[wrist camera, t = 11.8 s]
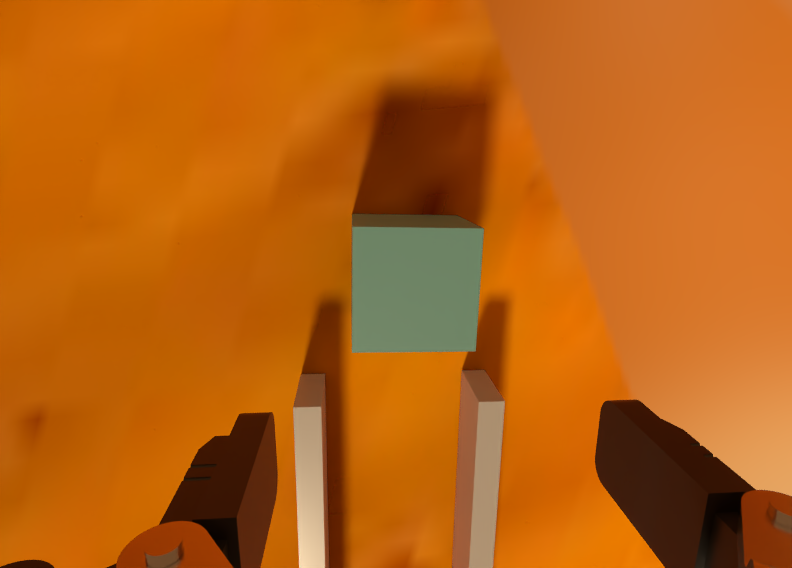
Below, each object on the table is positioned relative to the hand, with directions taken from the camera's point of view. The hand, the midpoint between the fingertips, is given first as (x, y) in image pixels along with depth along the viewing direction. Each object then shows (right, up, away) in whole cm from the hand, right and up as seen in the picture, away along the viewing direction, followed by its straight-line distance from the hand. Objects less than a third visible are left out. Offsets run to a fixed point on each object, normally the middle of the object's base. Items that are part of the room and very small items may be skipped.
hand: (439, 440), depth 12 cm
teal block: (-1, +5, +12) cm, 13 cm away
